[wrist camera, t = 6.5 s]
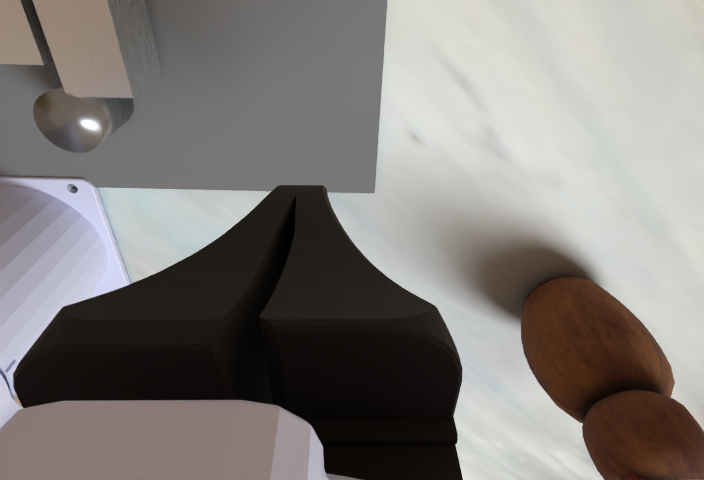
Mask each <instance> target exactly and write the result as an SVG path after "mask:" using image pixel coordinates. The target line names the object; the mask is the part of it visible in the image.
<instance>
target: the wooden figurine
mask: <svg viewBox="0 0 704 480" xmlns="http://www.w3.org/2000/svg"><path fill="white" fill-rule="evenodd" d="M521 339H522V344H523V349H524V354H525V356H526V359H527V361H528V364H529V366H530V369H531V370H532V372H533V374H534V376H535V377H536V379H537V381H538V382H539V384H540V385H541V386H542V388H543V389H544V390H545V391H546V393H547V394H548V395H549V396H550V398H551V399H552V400H553V402H554V403H555V404H556V405H557V406H558V407H559V408H561V409H562V410H563V411H565V412H566V413H567V414H569V415H570V416H571V417H573V418H574V419H576V420H577V421H578V422H580V423H583V426H582V429H583V438H584V441H585V444H586V447H587V449H588V452H589V454H590V457H591V459H592V460H593V462H594V464H595V466H596V468H597V470H598V472H599V473H600V474H601V476H602V477H603V478H604V479H605V480H704V431H703V429H702V428H701V426H700V425H699V424H698V422H697V421H696V420H695V419H694V417H693V416H692V415H691V414H690V412H689V411H688V410H687V409H686V408H685V407H684V406H683V405H682V404H680V403H679V402H677V401H676V400H674V399H672V398H670V397H671V394H672V390H673V386H674V383H675V382H674V378H673V374H672V369H671V366H670V364H669V362H668V360H667V358H666V356H665V355H664V353H663V351H662V349H661V348H660V346H659V345H658V343H657V342H656V340H655V339H654V337H653V336H652V335H651V333H650V332H649V331H648V330H647V328H646V327H645V326H644V325H643V323H642V322H641V321H640V320H639V319H638V318H637V317H636V316H635V315H634V314H633V313H632V312H631V311H630V310H629V309H627V308H626V307H625V306H624V305H623V304H622V303H621V302H620V301H618V300H617V299H616V298H615V297H613V296H612V295H611V294H609V293H608V292H607V291H605V290H604V289H603V288H601V287H600V286H599V285H597V284H595V283H593V282H591V281H589V280H587V279H583V278H578V277H573V276H572V277H563V278H556V279H554V280H552V281H549V282H547V283H544V284H543V285H541V286H539V287H538V288H536V289H535V290H533V292H532V293H531V294H530V296H529V297H528V299H527V300H526V302H525V303H524V307H523V312H522V320H521Z"/></svg>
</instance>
